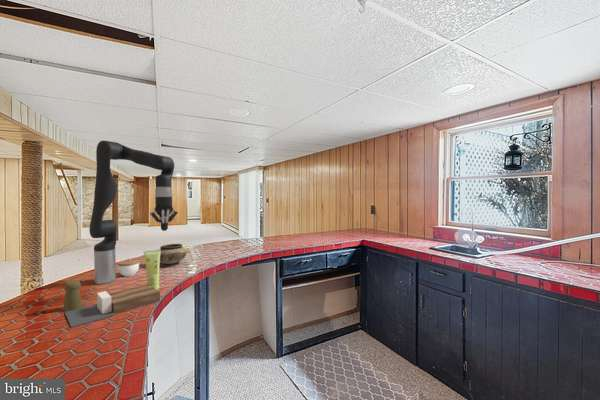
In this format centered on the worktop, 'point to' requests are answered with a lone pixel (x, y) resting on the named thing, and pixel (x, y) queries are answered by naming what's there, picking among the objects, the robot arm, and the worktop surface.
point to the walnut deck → (134, 298)
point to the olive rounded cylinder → (72, 296)
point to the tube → (152, 267)
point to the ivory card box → (104, 302)
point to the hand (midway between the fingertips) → (164, 230)
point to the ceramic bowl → (172, 254)
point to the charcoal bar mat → (86, 315)
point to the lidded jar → (128, 267)
